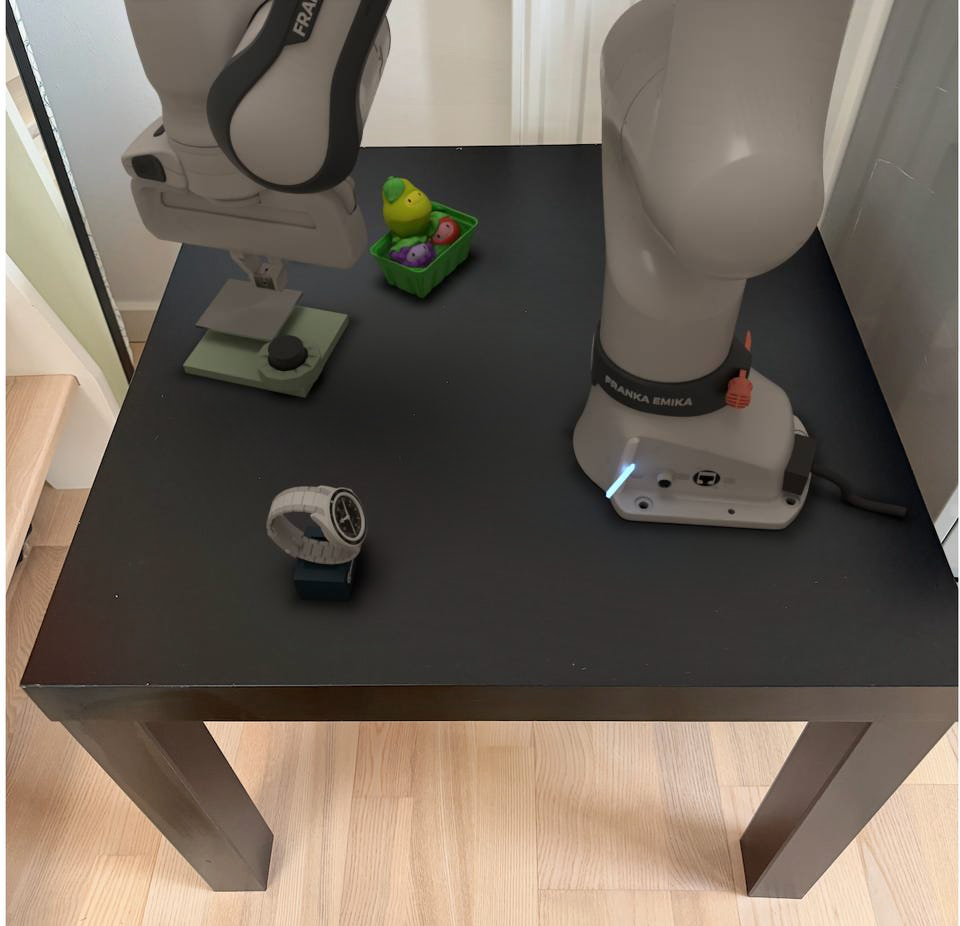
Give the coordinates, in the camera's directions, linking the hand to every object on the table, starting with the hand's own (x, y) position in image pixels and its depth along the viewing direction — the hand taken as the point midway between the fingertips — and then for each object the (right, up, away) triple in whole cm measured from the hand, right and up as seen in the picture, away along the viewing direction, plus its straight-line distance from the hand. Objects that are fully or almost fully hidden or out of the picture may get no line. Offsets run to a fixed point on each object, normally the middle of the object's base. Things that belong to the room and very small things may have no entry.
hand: (271, 285), depth 83 cm
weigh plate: (-6, 0, +15) cm, 16 cm away
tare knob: (-1, -6, +11) cm, 12 cm away
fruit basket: (+13, +6, +23) cm, 27 cm away
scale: (-4, -4, +16) cm, 16 cm away
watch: (+6, -26, -3) cm, 27 cm away
